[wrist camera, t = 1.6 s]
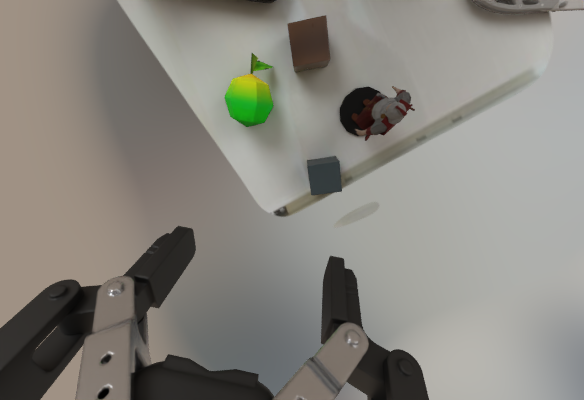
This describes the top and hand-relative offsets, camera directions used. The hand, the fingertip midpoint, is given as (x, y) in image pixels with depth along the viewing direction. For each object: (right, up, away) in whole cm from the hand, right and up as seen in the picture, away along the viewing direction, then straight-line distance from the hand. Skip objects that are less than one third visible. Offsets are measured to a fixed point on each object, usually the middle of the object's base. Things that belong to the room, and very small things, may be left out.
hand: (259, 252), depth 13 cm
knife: (+32, +28, +13) cm, 45 cm away
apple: (-4, +18, +20) cm, 28 cm away
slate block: (+7, +7, +24) cm, 26 cm away
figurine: (+12, +16, +20) cm, 29 cm away
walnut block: (+4, +23, +18) cm, 29 cm away
